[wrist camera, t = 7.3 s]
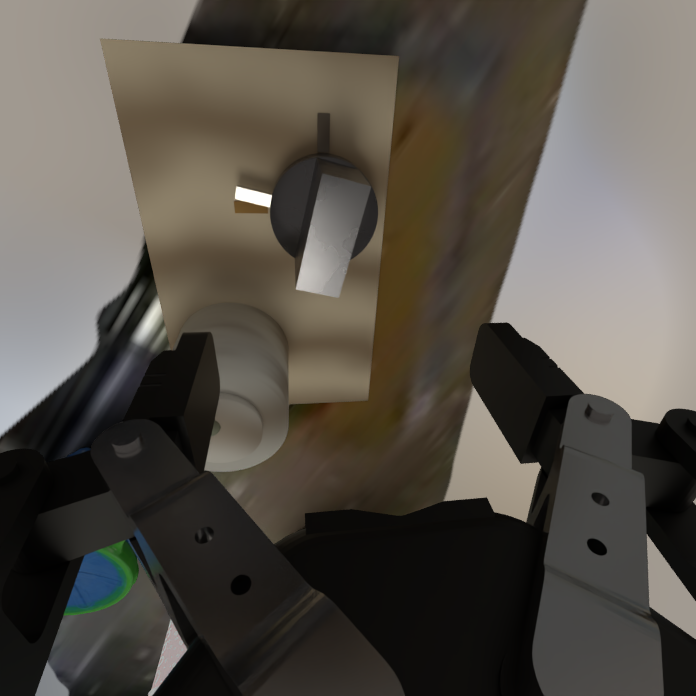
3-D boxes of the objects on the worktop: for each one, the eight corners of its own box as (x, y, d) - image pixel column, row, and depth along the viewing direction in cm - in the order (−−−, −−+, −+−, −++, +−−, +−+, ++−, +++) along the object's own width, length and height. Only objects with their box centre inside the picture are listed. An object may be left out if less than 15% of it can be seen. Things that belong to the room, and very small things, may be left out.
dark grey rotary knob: (387, 169, 25) (411, 192, 20) (357, 267, 28) (372, 308, 23) (245, 128, 23) (233, 143, 18) (230, 239, 26) (217, 277, 21)
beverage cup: (182, 600, 53) (153, 749, 41) (223, 613, 56) (206, 755, 44) (155, 621, 55) (120, 768, 43) (196, 632, 58) (173, 773, 46)
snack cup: (120, 397, 35) (65, 502, 26) (209, 464, 40) (188, 568, 32) (-5, 479, 38) (-89, 595, 29) (93, 530, 43) (46, 640, 35)
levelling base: (364, 385, 37) (389, 489, 28) (189, 393, 35) (154, 506, 26) (391, 57, 24) (456, 46, 15) (114, 41, 22) (-11, 17, 13)
